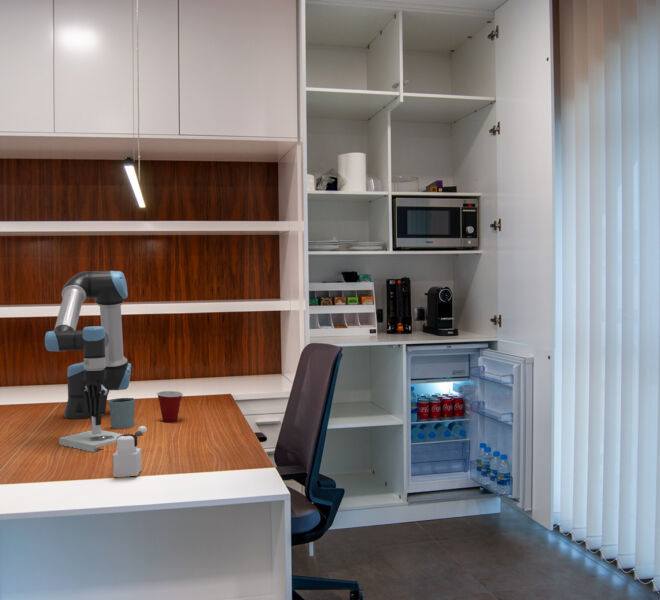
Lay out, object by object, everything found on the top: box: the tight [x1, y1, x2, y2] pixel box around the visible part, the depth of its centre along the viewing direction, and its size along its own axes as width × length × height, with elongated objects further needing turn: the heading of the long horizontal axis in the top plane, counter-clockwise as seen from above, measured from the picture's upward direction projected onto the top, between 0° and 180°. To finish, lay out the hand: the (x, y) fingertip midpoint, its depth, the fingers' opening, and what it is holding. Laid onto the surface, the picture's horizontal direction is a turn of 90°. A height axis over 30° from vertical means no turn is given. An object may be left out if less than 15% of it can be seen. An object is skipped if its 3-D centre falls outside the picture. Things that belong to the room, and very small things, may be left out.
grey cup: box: [108, 397, 136, 430], centre depth 262 cm, size 10×10×12 cm
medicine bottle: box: [112, 433, 143, 477], centre depth 202 cm, size 7×7×12 cm
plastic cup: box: [156, 390, 184, 423], centre depth 277 cm, size 11×11×12 cm
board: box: [58, 429, 124, 453], centre depth 240 cm, size 20×16×2 cm
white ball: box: [137, 425, 148, 433], centre depth 253 cm, size 4×4×4 cm
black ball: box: [134, 430, 144, 437], centre depth 247 cm, size 3×3×3 cm
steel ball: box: [98, 436, 108, 440], centre depth 238 cm, size 4×4×4 cm
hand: (96, 433), depth 240 cm, fingers closed
